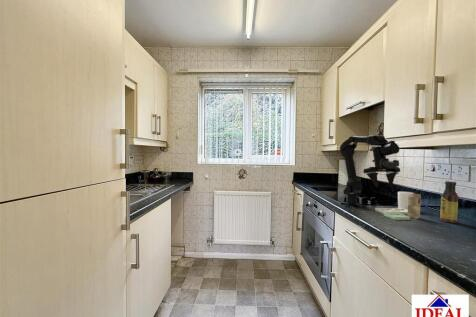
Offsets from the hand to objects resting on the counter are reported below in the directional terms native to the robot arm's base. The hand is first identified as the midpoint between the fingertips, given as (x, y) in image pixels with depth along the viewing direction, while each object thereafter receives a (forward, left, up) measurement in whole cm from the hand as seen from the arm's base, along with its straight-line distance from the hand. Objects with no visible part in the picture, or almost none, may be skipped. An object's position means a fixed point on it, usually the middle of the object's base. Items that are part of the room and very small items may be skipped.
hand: (384, 186), depth 126 cm
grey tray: (-4, +14, -15) cm, 21 cm away
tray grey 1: (-4, +5, -15) cm, 16 cm away
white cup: (-12, +22, -15) cm, 29 cm away
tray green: (+6, +3, -15) cm, 17 cm away
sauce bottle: (+12, +25, -15) cm, 32 cm away
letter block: (+5, +13, -15) cm, 21 cm away
